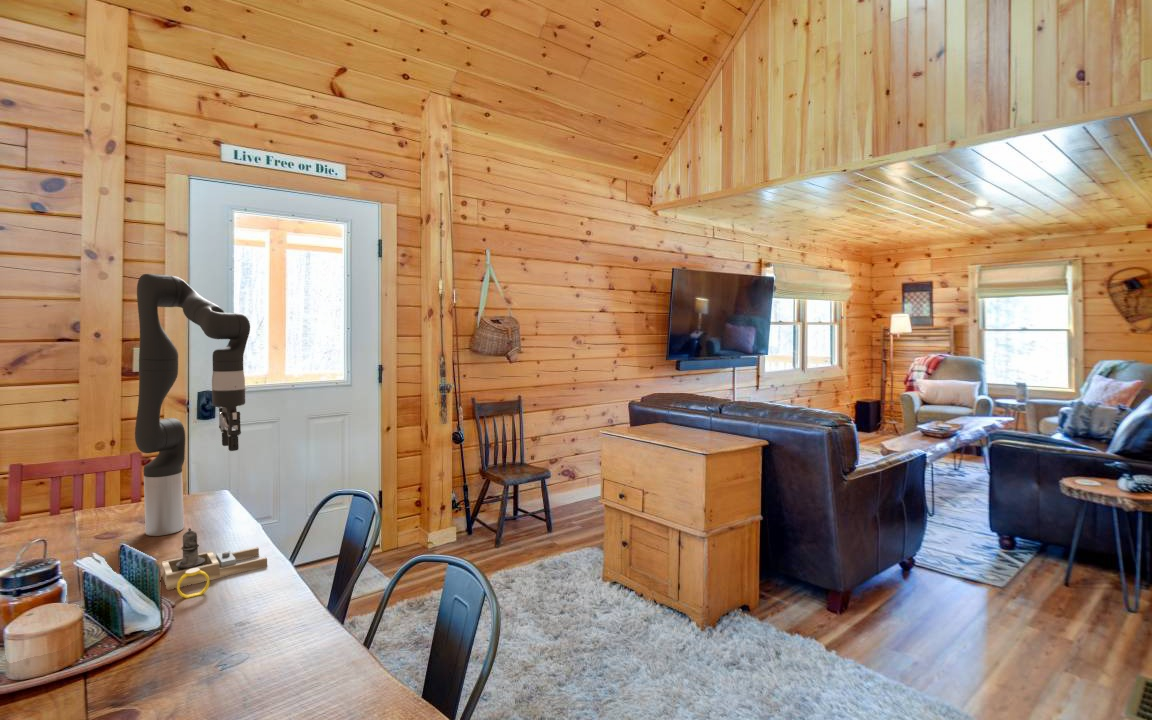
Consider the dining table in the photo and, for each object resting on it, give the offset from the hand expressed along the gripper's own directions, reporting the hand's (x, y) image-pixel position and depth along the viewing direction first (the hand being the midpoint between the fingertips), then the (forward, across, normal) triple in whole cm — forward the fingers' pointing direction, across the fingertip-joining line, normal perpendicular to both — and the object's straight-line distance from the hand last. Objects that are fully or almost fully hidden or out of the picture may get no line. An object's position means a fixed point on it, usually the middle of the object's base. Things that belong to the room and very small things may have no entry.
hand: (230, 448), depth 154 cm
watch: (+28, -24, +12) cm, 39 cm away
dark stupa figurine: (+28, -12, +11) cm, 33 cm away
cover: (+28, -12, +4) cm, 31 cm away
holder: (+28, -12, +6) cm, 31 cm away
